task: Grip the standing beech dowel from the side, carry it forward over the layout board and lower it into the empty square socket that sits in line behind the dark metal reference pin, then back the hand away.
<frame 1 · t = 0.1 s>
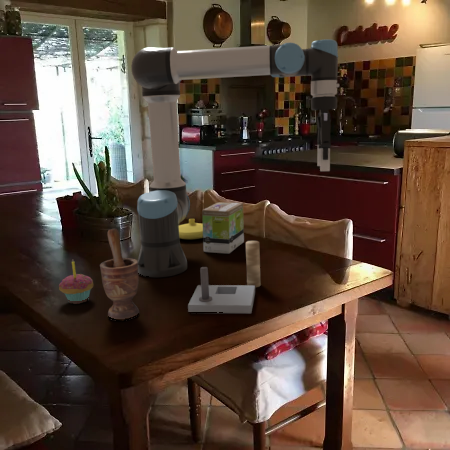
hand: (323, 168, 146), 28 cm above the table, tool pointing down, fingers open, 13 cm apart
mortar and pestle: (121, 313, 116), on the table
yellow pot lid: (192, 237, 183), on the table
tea box: (224, 247, 168), on the table
dowel: (253, 285, 130), on the table
cupcake: (78, 301, 125), on the table
layout board: (223, 302, 120), on the table
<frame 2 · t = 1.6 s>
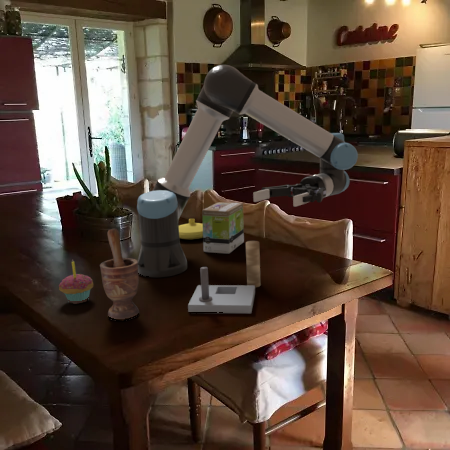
hand: (273, 199, 132), 22 cm above the table, tool horizontal, fingers open, 13 cm apart
nothing on the table moved.
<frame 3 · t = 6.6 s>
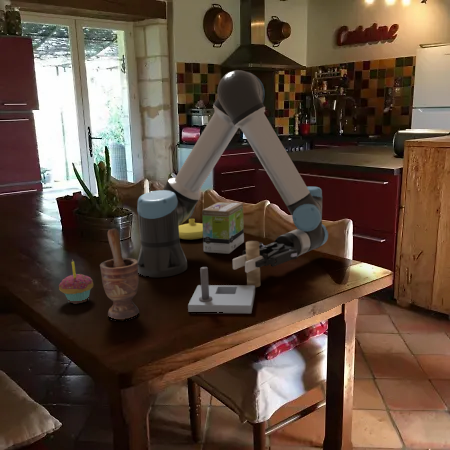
hand: (239, 265, 125), 7 cm above the table, tool horizontal, fingers closed on dowel, 3 cm apart
dowel: (253, 285, 130), on the table, touching gripper
everything else where it was.
when the fingers open (8 cm above the table, at t = 11.7 s): dowel stays where it is, resting in layout board.
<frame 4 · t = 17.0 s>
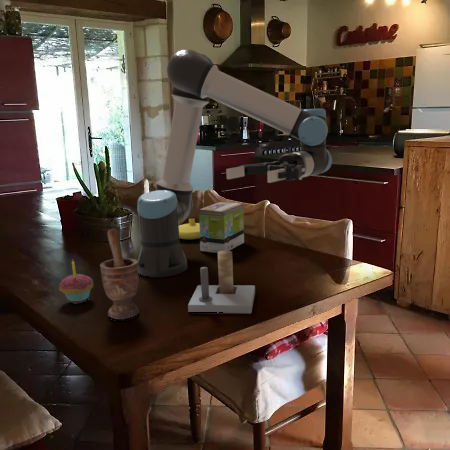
hand: (247, 175, 123), 30 cm above the table, tool horizontal, fingers open, 13 cm apart
dowel: (226, 297, 123), resting in layout board
at the end: dowel 0.0 cm from the target spot on the layout board, point 0.0 cm above the layout board's base; dowel tilted 0°; the gripper is holding nothing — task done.
